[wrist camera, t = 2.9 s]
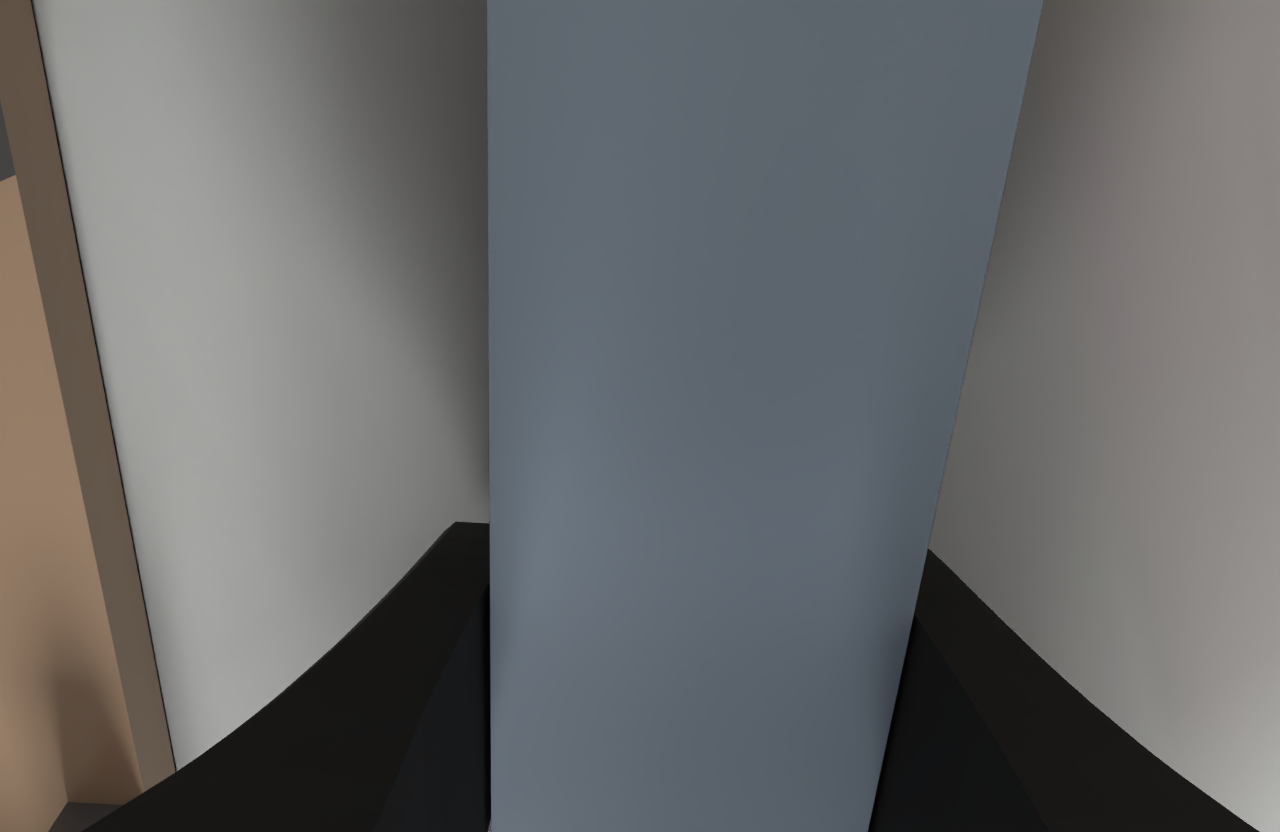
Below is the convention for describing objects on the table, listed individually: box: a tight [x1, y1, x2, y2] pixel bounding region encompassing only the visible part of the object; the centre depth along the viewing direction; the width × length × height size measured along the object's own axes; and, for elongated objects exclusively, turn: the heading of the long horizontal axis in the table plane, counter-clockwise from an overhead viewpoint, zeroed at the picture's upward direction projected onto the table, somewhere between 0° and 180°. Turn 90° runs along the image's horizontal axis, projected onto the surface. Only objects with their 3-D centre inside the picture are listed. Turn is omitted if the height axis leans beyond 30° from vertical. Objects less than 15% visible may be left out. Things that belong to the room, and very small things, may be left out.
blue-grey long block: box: [487, 0, 1044, 832], centre depth 11 cm, size 4×14×4 cm, turn 177°
